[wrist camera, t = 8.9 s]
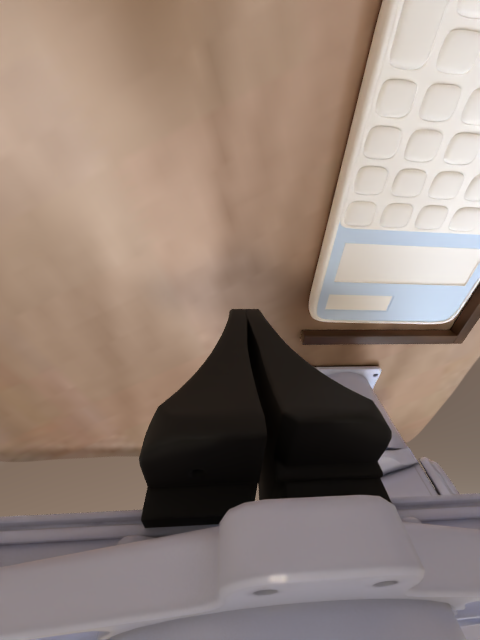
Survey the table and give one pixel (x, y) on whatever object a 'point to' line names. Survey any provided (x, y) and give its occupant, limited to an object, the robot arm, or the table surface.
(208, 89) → the table surface
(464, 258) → the calculator
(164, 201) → the table surface
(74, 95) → the table surface
